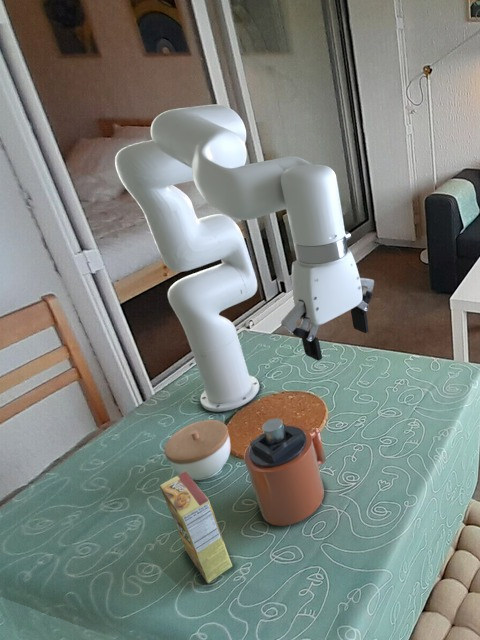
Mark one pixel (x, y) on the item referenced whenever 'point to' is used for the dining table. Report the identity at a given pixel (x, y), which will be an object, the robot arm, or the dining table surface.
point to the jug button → (274, 431)
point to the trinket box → (199, 449)
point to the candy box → (196, 525)
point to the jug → (287, 475)
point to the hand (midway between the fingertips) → (338, 343)
